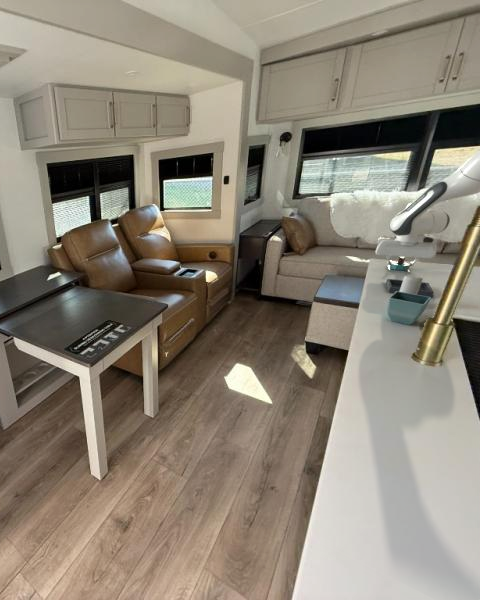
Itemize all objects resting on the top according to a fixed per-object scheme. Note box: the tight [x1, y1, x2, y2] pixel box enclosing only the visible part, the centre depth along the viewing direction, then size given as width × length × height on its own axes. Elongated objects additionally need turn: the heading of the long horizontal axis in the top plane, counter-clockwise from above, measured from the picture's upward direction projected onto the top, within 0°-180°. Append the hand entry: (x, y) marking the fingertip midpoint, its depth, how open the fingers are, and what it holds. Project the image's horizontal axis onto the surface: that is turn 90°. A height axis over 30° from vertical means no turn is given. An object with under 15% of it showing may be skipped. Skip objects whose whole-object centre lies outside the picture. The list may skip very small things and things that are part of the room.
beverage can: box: [399, 274, 424, 295], centre depth 118 cm, size 5×5×12 cm
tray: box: [385, 278, 435, 299], centre depth 131 cm, size 13×12×3 cm
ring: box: [389, 261, 411, 271], centre depth 153 cm, size 6×6×2 cm
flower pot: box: [386, 291, 432, 326], centre depth 109 cm, size 9×9×9 cm
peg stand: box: [387, 256, 411, 273], centre depth 152 cm, size 7×7×6 cm
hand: (399, 265), depth 152 cm, fingers closed on ring, 6 cm apart
